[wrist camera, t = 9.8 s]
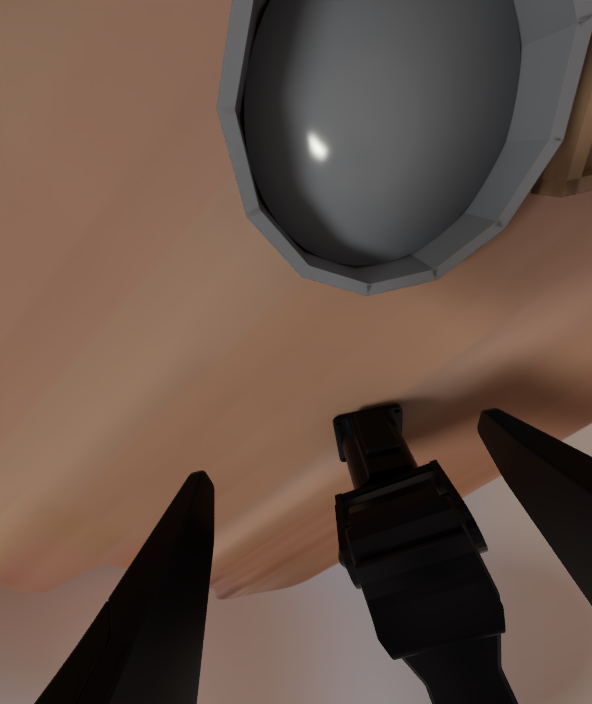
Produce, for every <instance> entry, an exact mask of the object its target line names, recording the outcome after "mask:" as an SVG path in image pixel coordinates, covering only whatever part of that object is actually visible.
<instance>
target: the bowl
mask: <svg viewBox="0 0 592 704" xmlns="http://www.w3.org/2000/svg"><path fill="white" fill-rule="evenodd" d="M268 2H269V0H232V4H231V11H230V18H229V25H228V32H227V39H226V46H225V53H224V59H223V66H222V73H221V80H220V87H219V94H218V101H217V112H218V115H219V119H220V122H221V126H222V130H223V133H224V137H225V141H226V144H227V148H228V151H229V155H230V159H231V162H232V166H233V170H234V173H235V177H236V180H237V184H238V188H239V191H240V195H241V199H242V202H243V206H244V209H245V213H246V216H247V218H248V219H249V220H250V221H251V222H252V223H253V224H254V225H255V227H256V228H257V229H258V230H259V231H260V232H261V233H262V234H263V235H264V236H265V237H266V239H267V240H268V241H269V242H270V243H271V244H272V245H273V246H274V247H275V248H276V249H277V251H278V252H279V253H280V254H281V255H282V256H283V257H284V258H285V259H286V260H287V261H288V263H289V264H290V265H291V266H292V267H293V268H294V269H295V270H296V271H297V272H298V273H299V275H300V276H301V277H304V278H307V279H311V280H314V281H318V282H321V283H324V284H328V285H331V286H334V287H338V288H341V289H345V290H348V291H351V292H355V293H358V294H362V295H365V296H370V295H374V294H378V293H383V292H387V291H391V290H396V289H400V288H404V287H409V286H413V285H417V284H422V283H426V282H430V281H435V280H437V279H439V278H440V277H441V276H443V275H444V274H445V273H447V272H448V271H449V270H451V269H452V268H453V267H455V266H456V265H457V264H459V263H460V262H461V261H463V260H464V259H465V258H467V257H468V256H469V255H471V254H472V253H473V252H475V251H476V250H477V249H479V248H480V247H481V246H483V245H484V244H485V243H487V242H488V241H489V240H491V239H492V238H493V237H495V236H496V235H497V234H499V233H500V232H501V231H503V230H504V229H505V228H506V226H507V224H508V223H509V221H510V220H511V218H512V217H513V215H514V214H515V212H516V211H517V209H518V208H519V206H520V205H521V203H522V202H523V200H524V199H525V197H526V196H527V194H528V193H529V191H530V190H531V188H532V187H533V185H534V184H535V182H536V181H537V179H538V178H539V176H540V175H541V173H542V172H543V170H544V169H545V167H546V166H547V164H548V163H549V161H550V160H551V158H552V157H553V155H554V154H555V152H556V151H557V149H558V148H559V146H560V144H561V143H562V141H563V139H564V136H565V132H566V128H567V124H568V120H569V116H570V113H571V109H572V105H573V101H574V97H575V94H576V90H577V86H578V82H579V78H580V75H581V71H582V67H583V63H584V59H585V56H586V52H587V48H588V44H589V40H590V37H591V33H592V0H270V2H269V4H268V6H267V8H266V10H265V12H264V14H263V17H262V20H261V23H260V26H259V29H258V31H257V34H256V37H255V40H254V36H255V30H256V25H257V19H258V15H259V14H260V13H261V11H262V10H263V9H264V7H265V6H266V4H267V3H268ZM253 41H254V43H253ZM252 47H253V48H252ZM244 91H245V95H244ZM243 97H244V125H245V137H246V143H245V139H244V135H243V131H242V127H241V123H240V113H241V108H242V102H243ZM246 145H247V147H246ZM247 150H248V151H247ZM248 155H249V156H248ZM252 171H253V172H252ZM253 175H254V176H253ZM254 178H255V180H254ZM255 181H256V184H257V186H258V188H259V191H260V193H261V195H262V198H263V200H264V202H265V203H266V205H267V207H268V209H269V210H270V212H271V214H272V215H273V216H272V215H271V214H270V213H269V211H268V210H267V209H266V208H265V207H264V206H263V204H262V203H261V202H260V200H259V196H258V192H257V188H256V184H255ZM295 241H296V242H297V243H298V244H300V245H301V246H302V247H304V248H305V249H306V250H308V251H310V252H312V253H310V252H307V251H304V250H301V248H300V247H299V246H298V245H297V244H296V243H295ZM350 265H355V267H354V266H350Z"/></svg>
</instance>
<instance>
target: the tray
mask: <svg viewBox="0 0 592 704" xmlns="http://www.w3.org/2000/svg"><path fill="white" fill-rule="evenodd" d="M590 190H592V33H591V37H590V40H589V44H588V48H587V52H586V56H585V59H584V63H583V67H582V71H581V75H580V78H579V82H578V86H577V90H576V94H575V97H574V101H573V105H572V109H571V113H570V116H569V120H568V124H567V128H566V132H565V136H564V139H563V141H562V143H561V144H560V146H559V148H558V149H557V151H556V152H555V154H554V155H553V157H552V158H551V160H550V161H549V163H548V164H547V166H546V167H545V169H544V170H543V172H542V173H541V175H540V176H539V178H538V179H537V181H536V182H535V184H534V185H533V188H532V192H531V193H532V194H540V195H548V196H556V197H565V196H569V195H573V194H578V193H582V192H586V191H590Z"/></svg>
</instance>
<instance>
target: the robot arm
mask: <svg viewBox="0 0 592 704" xmlns="http://www.w3.org/2000/svg"><path fill="white" fill-rule="evenodd" d="M396 409H397V410H396ZM337 422H338V423H337ZM333 426H334V431H335V436H336V441H337V447H338V452H339V457H340V460H341V461H342V462H347V465H348V468H349V472H350V476H351V479H352V483H353V486H354V490H352V491H349V492H346V493H343V494H341V493H340V494H337V495H335V500H336V505H335V512H336V522H337V532H338V541H339V554H338V557H339V561H340V564H341V565H342V566H344V567H345V568H346V569H347V571H348V573H349V575H350V578H351V580H352V582H353V584H354V585H355V587H356V588H357V589H361V588H362V591H363V594H364V596H365V599H366V602H367V605H368V608H369V611H370V614H371V617H372V620H373V624H374V627H375V631H376V634H377V637H378V640H379V641H380V643H381V644H382V646H383V647H384V648H385V650H386V651H387V652H388V654H389V655H390V657H391V658H392V659H393V660H396V659H400V658H402V659H403V660H404V662H405V663H406V664H407V665H408V666H409V667H410V668H411V669H412V671H413V672H414V673H415V674H416V675H417V676H418V677H419V679H420V680H421V681H422V682H423V683H424V685H425V686H426V689H427V691H428V694H429V697H430V699H431V702H432V704H518V702H517V700H516V698H515V696H514V693H513V691H512V689H511V687H510V685H509V683H508V681H507V678H506V677H505V674H504V672H503V670H502V667H501V634H502V633H505V618H504V609H503V605H502V603H501V601H500V595H499V592H498V590H497V588H496V586H495V584H494V582H493V580H492V578H491V576H490V574H489V572H488V570H487V568H486V566H485V564H484V562H483V560H482V558H481V556H480V553H484V552H487V551H488V548H487V545H486V543H485V540H484V538H483V536H482V534H481V532H480V530H479V528H478V526H477V524H476V522H475V520H474V518H473V516H472V514H471V513H470V511H469V509H468V508H467V506H466V504H465V503H464V501H463V499H462V498H461V496H460V495H459V493H458V492H457V490H456V489H455V487H454V486H453V484H452V483H451V481H450V480H449V478H448V477H447V475H446V474H445V472H444V471H443V469H442V468H441V466H440V465H439V463H438V462H437V460H433V461H430V463H428V464H426V465H423V466H420V467H418V465H417V463H416V461H415V460H414V458H413V456H412V454H411V452H410V450H409V448H408V446H407V444H406V442H405V440H404V438H403V436H402V408H401V406H400V405H399V404H395V405H390V406H385V407H381V408H376V409H372V410H367V411H363V412H358V413H354V414H349V415H344V416H340V417H336V418H334V419H333ZM477 428H478V433H479V435H480V437H481V439H482V441H483V442H484V444H485V446H486V448H487V450H488V451H489V453H490V455H491V457H492V459H493V460H494V462H495V464H496V466H497V468H498V469H499V471H500V473H501V475H502V476H503V478H504V480H505V481H506V483H507V484H508V486H509V487H510V489H511V490H512V492H513V493H514V495H515V496H516V497H517V499H518V500H519V502H520V503H521V505H522V506H523V507H524V509H525V510H526V512H527V513H528V515H529V516H530V518H531V519H532V520H533V522H534V523H535V525H536V526H537V528H538V529H539V530H540V532H541V533H542V535H543V536H544V538H545V539H546V541H547V542H548V543H549V545H550V546H551V547H552V549H553V551H554V552H555V554H556V555H557V556H558V558H559V559H560V560H561V562H562V564H563V565H564V566H565V568H566V569H567V571H568V572H569V574H570V575H571V576H572V578H573V580H574V581H575V582H576V584H577V585H578V587H579V588H580V590H581V591H582V592H583V594H584V595H585V597H586V598H587V600H588V601H589V603H590V604H591V605H592V457H591V456H589V455H587V454H585V453H583V452H581V451H579V450H577V449H575V448H573V447H572V446H569V445H568V444H566V443H563V442H562V441H560V440H558V439H556V438H554V437H552V436H550V435H548V434H546V433H544V432H542V431H541V430H539V429H537V428H535V427H533V426H531V425H529V424H527V423H525V422H523V421H521V420H519V419H517V418H515V417H513V416H511V415H510V414H508V413H506V412H504V411H502V410H500V409H497V408H491V409H486V410H483V411H482V412H481V414H480V418H479V422H478V427H477ZM213 547H214V485H213V483H212V481H211V480H210V478H209V477H208V475H207V474H206V472H205V471H203V470H202V471H197V472H193V473H191V474H190V475H189V476H188V478H187V479H186V481H185V482H184V484H183V485H182V487H181V489H180V490H179V492H178V493H177V495H176V496H175V498H174V499H173V501H172V502H171V504H170V505H169V507H168V508H167V510H166V511H165V513H164V514H163V516H162V517H161V519H160V521H159V522H158V524H157V525H156V527H155V528H154V530H153V531H152V533H151V534H150V536H149V537H148V539H147V540H146V542H145V543H144V545H143V546H142V548H141V550H140V551H139V553H138V554H137V556H136V557H135V559H134V560H133V562H132V563H131V565H130V566H129V568H128V569H127V571H126V572H125V574H124V576H123V577H122V579H121V580H120V582H119V583H118V585H117V586H116V588H115V589H114V591H113V592H112V594H111V595H110V597H109V599H108V601H107V602H106V603H105V604H104V606H103V607H102V609H101V610H100V612H99V613H98V615H97V616H96V618H95V619H94V621H93V623H92V624H91V625H90V627H89V628H88V630H87V631H86V633H85V634H84V636H83V637H82V639H81V640H80V642H79V643H78V645H77V646H76V648H75V649H74V650H73V651H72V653H71V654H70V656H69V657H68V658H67V660H66V661H65V663H64V664H63V665H62V667H61V668H60V669H59V671H58V672H57V674H56V675H55V676H54V678H53V679H52V680H51V682H50V683H49V684H48V686H47V687H46V688H45V690H44V691H43V692H42V694H41V695H40V697H39V698H38V699H37V701H36V702H35V703H34V704H197V696H198V686H199V677H200V668H201V658H202V650H203V640H204V631H205V621H206V612H207V603H208V593H209V584H210V575H211V566H212V556H213Z"/></svg>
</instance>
